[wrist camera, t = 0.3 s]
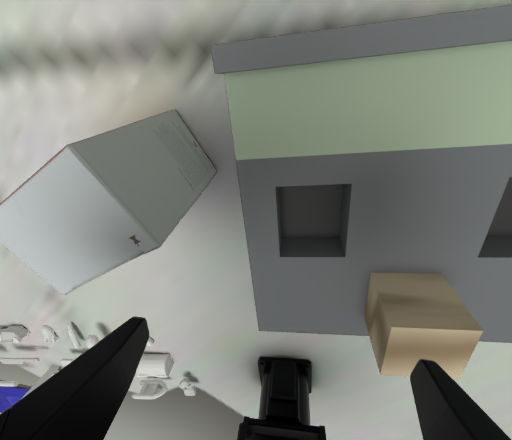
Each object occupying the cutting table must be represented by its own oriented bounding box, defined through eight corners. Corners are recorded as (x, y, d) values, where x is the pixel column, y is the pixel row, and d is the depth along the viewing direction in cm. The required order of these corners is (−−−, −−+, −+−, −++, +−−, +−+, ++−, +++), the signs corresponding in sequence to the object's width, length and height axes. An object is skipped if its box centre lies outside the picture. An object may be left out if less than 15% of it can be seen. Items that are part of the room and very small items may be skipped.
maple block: (426, 319, 22) (458, 379, 17) (364, 316, 23) (380, 374, 18) (441, 273, 19) (483, 331, 15) (370, 272, 20) (391, 327, 16)
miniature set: (-4, 372, 43) (-40, 311, 38) (201, 374, 39) (187, 307, 35) (-51, 412, 37) (-99, 346, 32) (187, 419, 33) (168, 345, 29)
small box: (176, 107, 19) (67, 139, 10) (219, 172, 21) (162, 248, 12) (106, 160, 22) (-30, 223, 13) (150, 212, 24) (61, 299, 15)
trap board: (517, 315, 24) (566, 368, 20) (262, 306, 28) (256, 349, 24) (700, -8, 13) (904, -48, 9) (232, 51, 17) (210, 44, 12)
